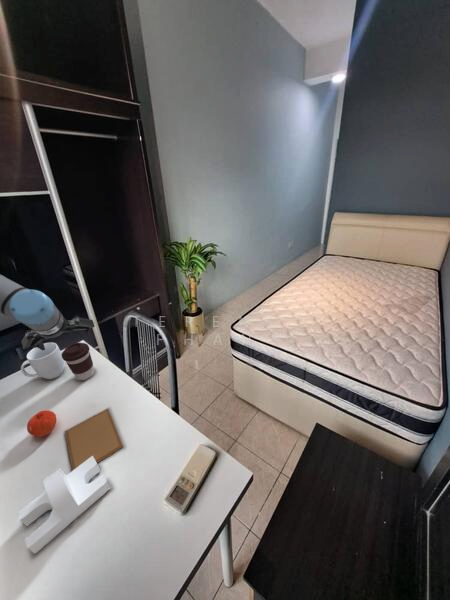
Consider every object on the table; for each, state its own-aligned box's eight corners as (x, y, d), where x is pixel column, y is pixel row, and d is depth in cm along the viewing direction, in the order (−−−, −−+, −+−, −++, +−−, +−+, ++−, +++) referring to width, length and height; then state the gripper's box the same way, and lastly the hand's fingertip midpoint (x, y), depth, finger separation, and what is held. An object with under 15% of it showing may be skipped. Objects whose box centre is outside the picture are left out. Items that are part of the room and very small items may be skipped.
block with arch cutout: (96, 462, 74) (84, 441, 68) (110, 488, 68) (99, 467, 62) (24, 517, 63) (3, 497, 57) (34, 554, 57) (11, 536, 51)
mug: (27, 391, 100) (12, 367, 94) (30, 375, 108) (16, 352, 102) (69, 376, 107) (57, 352, 100) (68, 361, 115) (57, 339, 109)
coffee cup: (70, 375, 107) (56, 348, 100) (93, 363, 113) (82, 336, 106) (77, 387, 101) (63, 359, 94) (101, 373, 107) (90, 346, 99)
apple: (45, 444, 80) (35, 428, 76) (27, 438, 82) (16, 423, 78) (65, 422, 87) (57, 407, 83) (47, 417, 89) (38, 402, 85)
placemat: (65, 431, 83) (64, 431, 83) (108, 409, 91) (107, 408, 90) (74, 478, 70) (73, 477, 70) (123, 447, 78) (122, 446, 77)
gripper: (-6, 352, 62) (25, 363, 80) (100, 319, 73) (106, 335, 92) (-13, 325, 63) (19, 342, 82) (92, 297, 75) (99, 317, 93)
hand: (65, 339), depth 87 cm, fingers open, 13 cm apart
